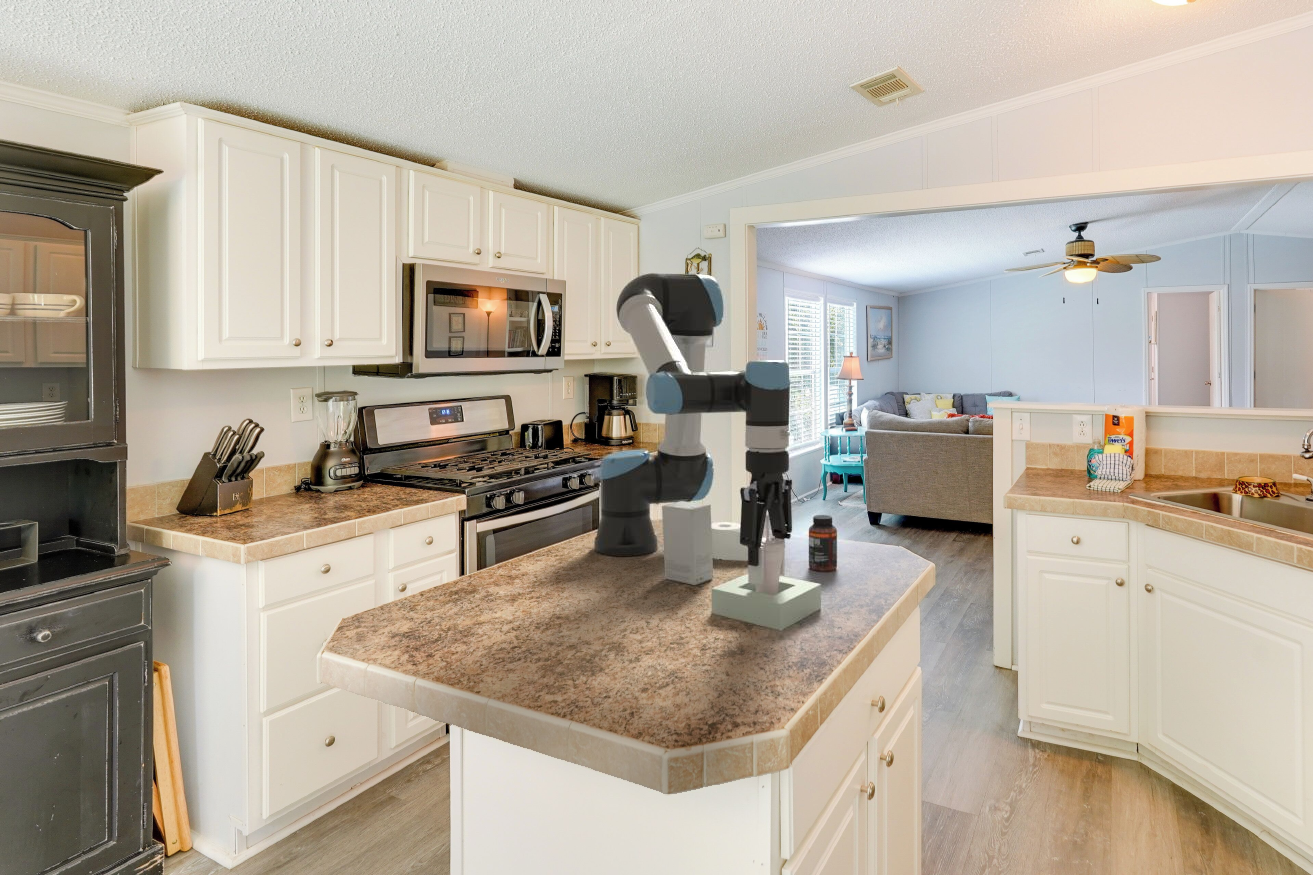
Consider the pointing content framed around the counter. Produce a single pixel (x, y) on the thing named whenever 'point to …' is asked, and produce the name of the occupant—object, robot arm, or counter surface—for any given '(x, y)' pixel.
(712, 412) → the robot arm
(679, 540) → the skincare box
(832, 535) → the supplement bottle
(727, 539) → the toilet paper
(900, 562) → the counter surface
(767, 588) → the smoothie
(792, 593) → the block
